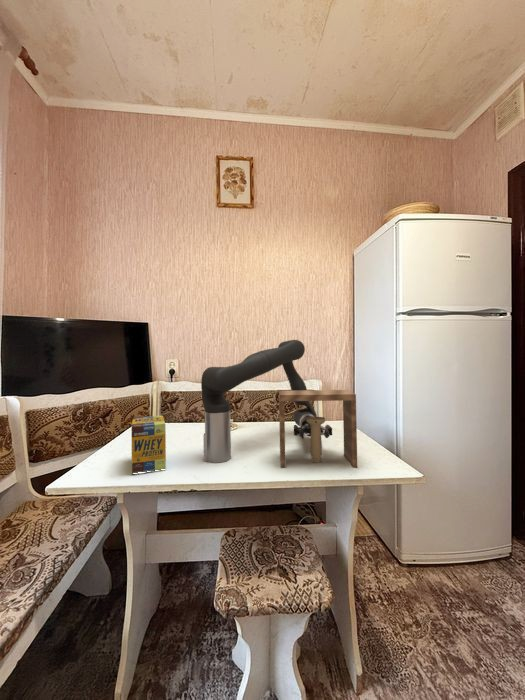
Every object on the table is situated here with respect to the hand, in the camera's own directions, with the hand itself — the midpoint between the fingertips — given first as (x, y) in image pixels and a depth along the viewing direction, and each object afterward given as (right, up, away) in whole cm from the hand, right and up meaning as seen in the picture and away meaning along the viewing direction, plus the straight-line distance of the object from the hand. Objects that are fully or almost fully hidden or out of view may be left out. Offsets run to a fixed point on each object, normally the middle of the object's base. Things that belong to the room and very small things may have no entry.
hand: (315, 435), depth 105 cm
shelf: (0, -8, -2) cm, 9 cm away
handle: (0, -9, -2) cm, 9 cm away
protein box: (-58, -10, -3) cm, 59 cm away
